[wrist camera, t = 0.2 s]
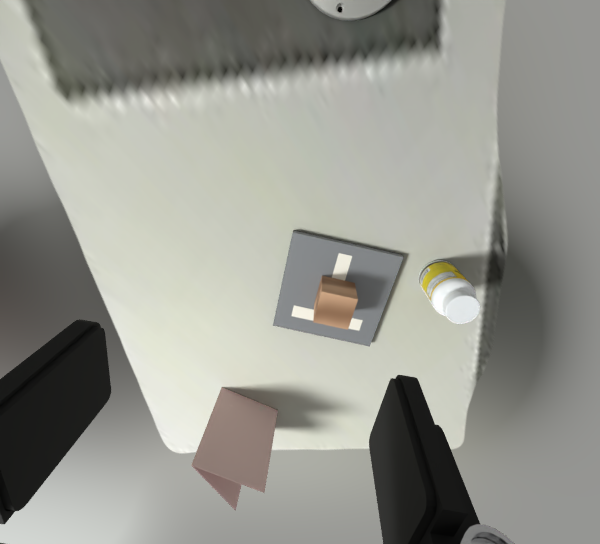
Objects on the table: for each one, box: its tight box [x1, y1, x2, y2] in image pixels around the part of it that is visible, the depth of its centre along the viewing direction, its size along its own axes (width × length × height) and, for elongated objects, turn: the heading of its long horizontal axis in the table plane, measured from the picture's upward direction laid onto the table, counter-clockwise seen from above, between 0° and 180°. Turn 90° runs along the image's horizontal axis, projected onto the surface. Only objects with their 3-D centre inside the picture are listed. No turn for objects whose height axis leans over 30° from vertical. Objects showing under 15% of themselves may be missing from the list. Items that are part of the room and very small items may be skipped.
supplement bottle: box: [419, 260, 480, 324], centre depth 43 cm, size 5×5×10 cm
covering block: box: [313, 276, 358, 330], centre depth 46 cm, size 5×5×5 cm
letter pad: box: [273, 230, 403, 346], centre depth 49 cm, size 16×16×1 cm
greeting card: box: [192, 387, 278, 510], centre depth 54 cm, size 11×7×15 cm, turn 28°
